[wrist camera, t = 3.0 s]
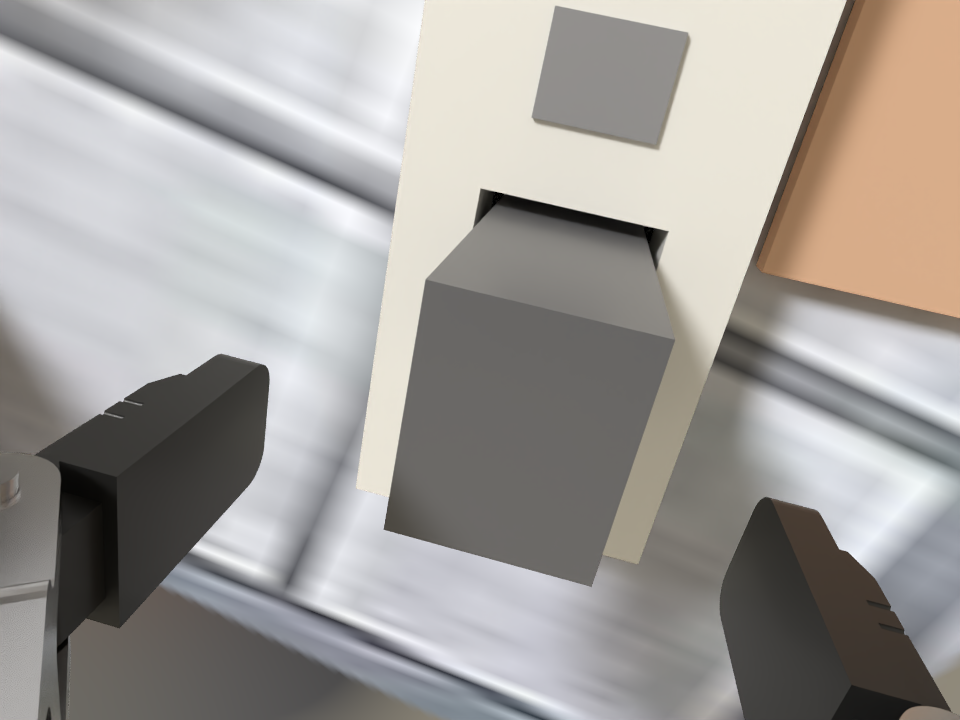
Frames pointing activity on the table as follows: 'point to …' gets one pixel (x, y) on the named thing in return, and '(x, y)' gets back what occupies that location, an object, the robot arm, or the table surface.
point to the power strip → (600, 170)
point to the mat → (880, 164)
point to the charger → (530, 388)
